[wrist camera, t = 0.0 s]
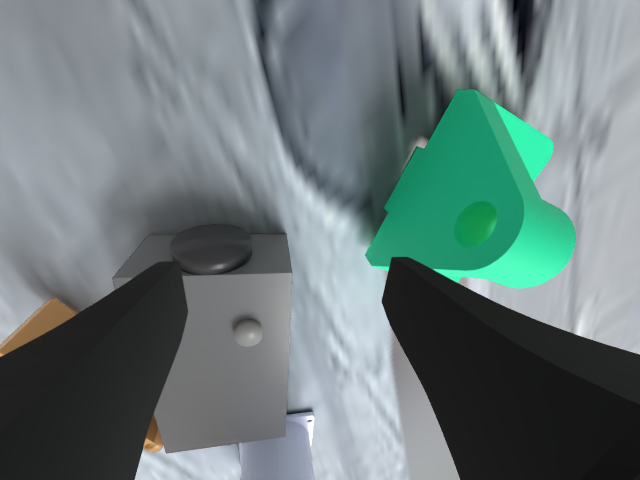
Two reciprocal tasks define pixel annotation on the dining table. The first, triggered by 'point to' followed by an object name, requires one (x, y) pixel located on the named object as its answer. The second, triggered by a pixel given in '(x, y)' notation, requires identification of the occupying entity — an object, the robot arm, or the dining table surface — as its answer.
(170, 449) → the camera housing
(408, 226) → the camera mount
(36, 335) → the tan piece
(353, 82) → the dining table surface
